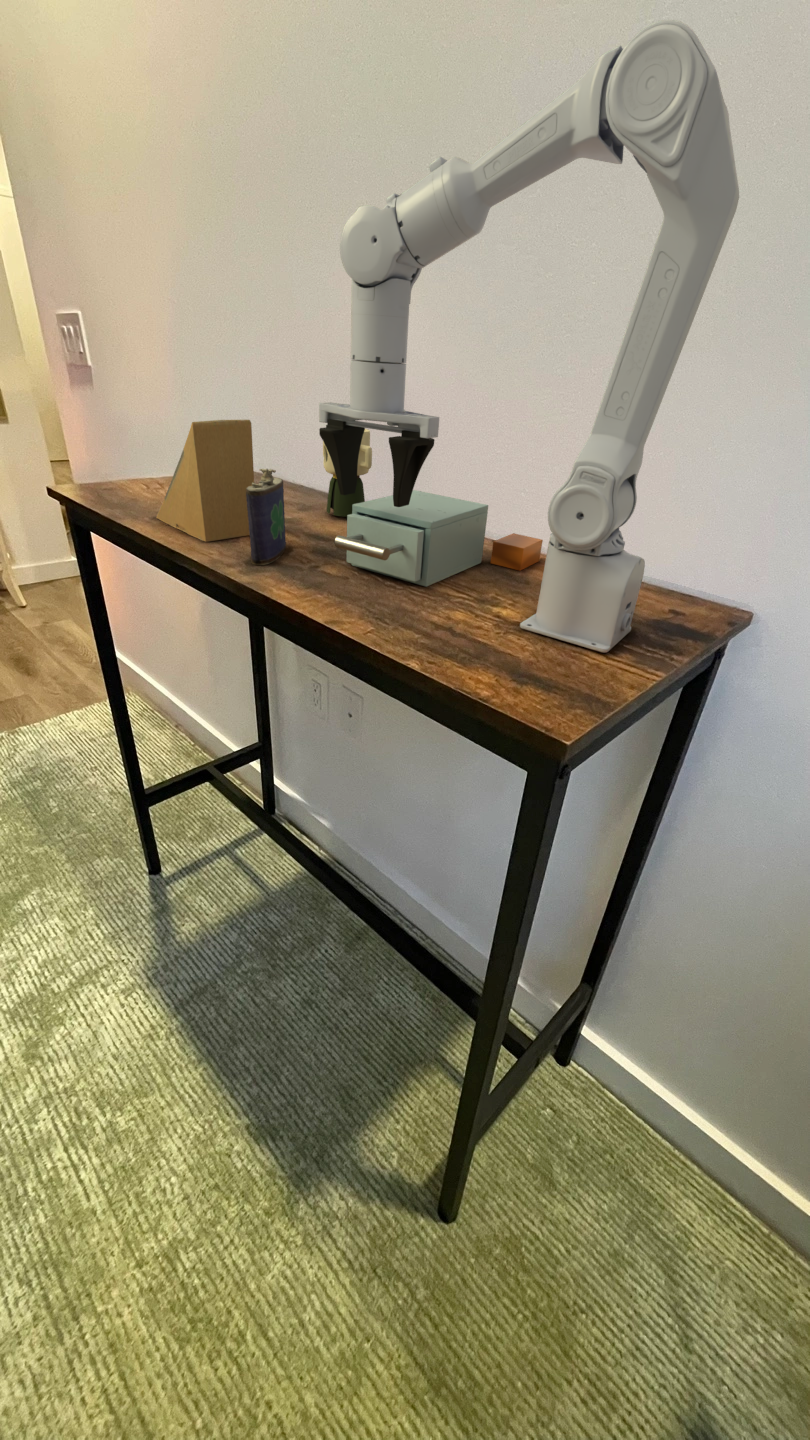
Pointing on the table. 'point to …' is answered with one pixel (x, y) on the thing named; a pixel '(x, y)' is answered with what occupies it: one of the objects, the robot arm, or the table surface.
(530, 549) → the block
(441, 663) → the table surface
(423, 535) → the drawer
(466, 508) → the cabinet
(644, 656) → the table surface
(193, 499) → the sandwich container
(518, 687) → the table surface
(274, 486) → the flask
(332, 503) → the character mug
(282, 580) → the table surface
